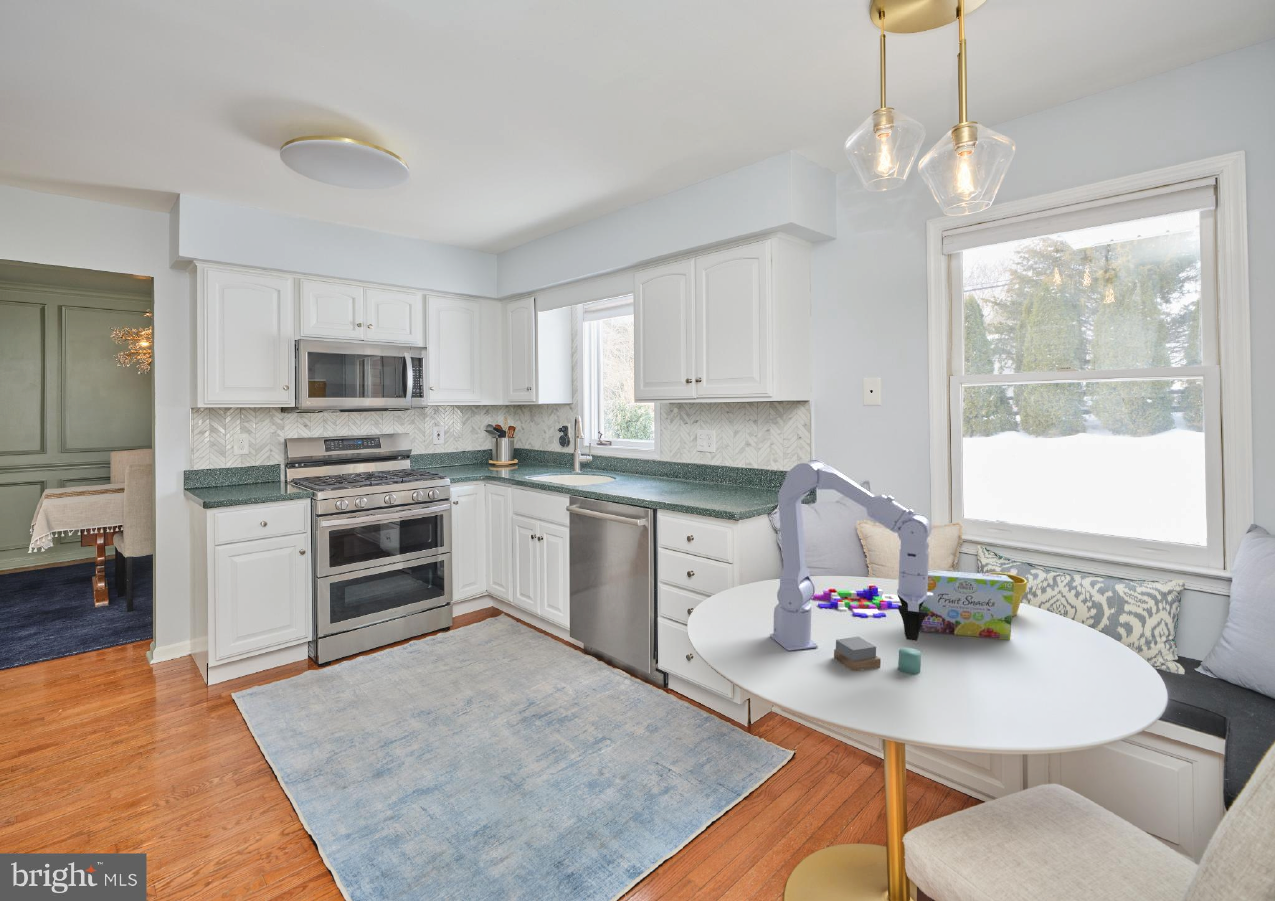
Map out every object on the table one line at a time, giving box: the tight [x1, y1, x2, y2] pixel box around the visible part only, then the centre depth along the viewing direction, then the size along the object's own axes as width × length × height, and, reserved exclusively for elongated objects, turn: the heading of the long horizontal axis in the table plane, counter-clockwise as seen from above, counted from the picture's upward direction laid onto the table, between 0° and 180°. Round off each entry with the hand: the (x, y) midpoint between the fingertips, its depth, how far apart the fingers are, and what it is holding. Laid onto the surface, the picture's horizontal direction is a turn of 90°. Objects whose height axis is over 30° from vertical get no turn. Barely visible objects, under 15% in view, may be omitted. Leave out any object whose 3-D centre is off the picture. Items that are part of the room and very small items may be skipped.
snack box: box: [920, 569, 1014, 641], centre depth 154 cm, size 21×6×15 cm, turn 76°
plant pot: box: [985, 572, 1028, 617], centre depth 169 cm, size 10×10×10 cm
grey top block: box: [835, 636, 877, 661], centre depth 137 cm, size 6×6×2 cm
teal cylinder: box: [897, 647, 922, 675], centre depth 133 cm, size 4×4×4 cm
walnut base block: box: [833, 648, 881, 672], centre depth 137 cm, size 7×7×2 cm
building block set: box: [812, 584, 901, 619], centre depth 175 cm, size 25×20×4 cm
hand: (910, 633), depth 133 cm, fingers open, 7 cm apart
